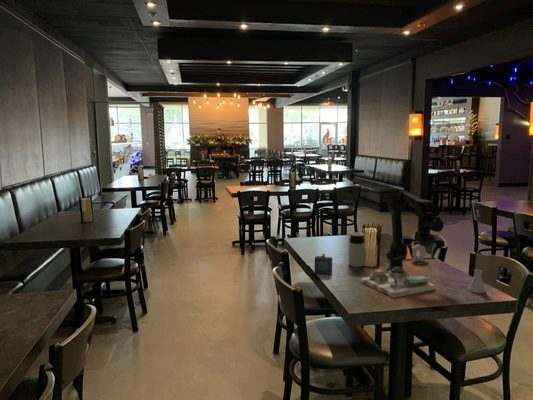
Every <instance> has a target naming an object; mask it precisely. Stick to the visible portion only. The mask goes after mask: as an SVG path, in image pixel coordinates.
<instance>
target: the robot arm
mask: <svg viewBox="0 0 533 400" xmlns="http://www.w3.org/2000/svg"><path fill="white" fill-rule="evenodd" d="M407 203H408V204H409V205H411V206H413V207H414V210H415V211H416V212H417V213H416V214H415V216H416V217H418V218H417V230H416V238H412V236H407V235H404V236H403V224H402V223H403V222H402V213H403V211H404V209H405V205H406V204H407ZM386 205H387V210H388V211H389V212H390V215H391V230H392V242H391V244H390V247H389V250H388V252H387V254H386V259H387V261H389V265H388V268H386V270H387V271H389V270H391V269H394V267H395V266H399V267H402V268H403V265H404V264H403V261H404V260H406V258H407V256H408V251H409V255H410V258H411V259H412V248H413V245H412V243H413V244H419V245H420V246H424V247H431V246H432V249H431V255H430V258H431V260H434V257H435V255H436V253H437V251H438V250H439V249H442V248H445V247H446V246H445V245H446V242H445V241H444V239H443V238H439V237H436V235H431V231H432V232H435V233H439V232H440V233H441V231H442V230H443V229H444V226H445V224H444V221H442V219H441V217H440V216H439V214H438V211H437V208H436V205H435V203H434V202H433V201H432V200H428V199H423V198H422V199H421V198H420V197H418V196H416V195H414V194H412V193H410V191H408V190H401V191H399V192H397V193H396V194H394V195H392V196H390V197H388V199H387V200H386ZM403 271H405V269H403Z"/></svg>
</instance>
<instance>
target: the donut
mask: <svg viewBox="0 0 533 400" xmlns="http://www.w3.org/2000/svg"><path fill="white" fill-rule="evenodd" d="M425 247H426V246H420V243H417V244H415V245H414V246H412V258H411V259H412V261H414V262H422V260H424V259H425V257H426V255H427V250H426V248H425ZM418 251H419V254H417V253H418Z"/></svg>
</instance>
